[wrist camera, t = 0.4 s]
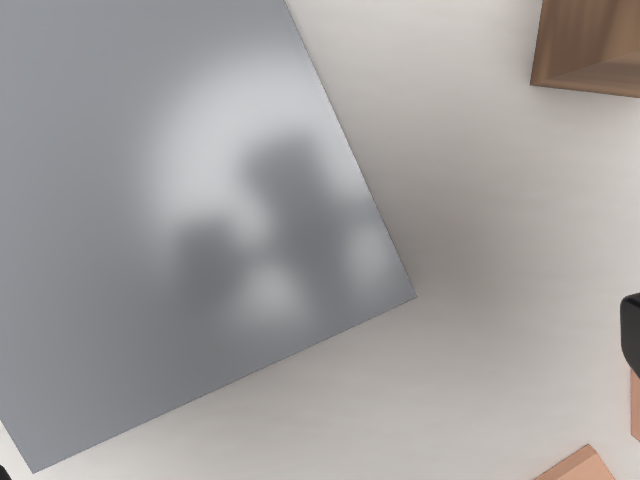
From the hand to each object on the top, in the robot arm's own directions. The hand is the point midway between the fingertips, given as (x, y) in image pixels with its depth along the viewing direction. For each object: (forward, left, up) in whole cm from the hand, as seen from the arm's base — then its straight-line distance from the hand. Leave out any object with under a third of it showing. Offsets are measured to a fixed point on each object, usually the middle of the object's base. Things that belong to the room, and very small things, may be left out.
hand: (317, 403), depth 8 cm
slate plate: (+5, +5, -13) cm, 15 cm away
